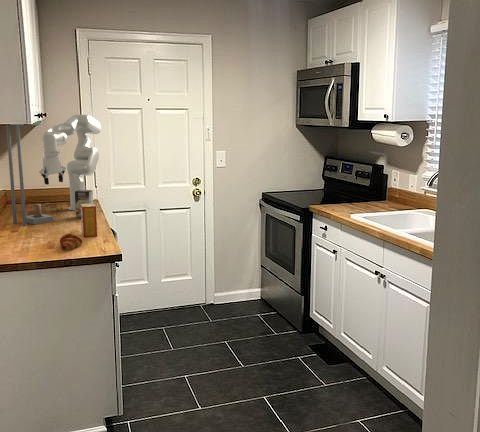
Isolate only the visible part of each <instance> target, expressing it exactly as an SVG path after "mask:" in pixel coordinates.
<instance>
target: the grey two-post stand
mask: <svg viewBox="0 0 480 432" xmlns="http://www.w3.org/2000/svg"><path fill="white" fill-rule="evenodd" d="M36 121H37V122H36V123H34V124H31V125H30V126H36V125H37V126H39V125H41V120H36ZM5 126H6V127H5V129H6V139H7V153H8V155H7V157H8V165H9V168H8V169H9V179H10V181H9V183H10V195H11V196H10V197H11V208H12V220H13V224H14V223H17V224H18V220H17V219H18V217H17V206H16V205H17V204H16V193H15V190H16V189H15V179H14V178H15V177H14V166H13V165H14V164H13V151H12V150H13V149H12V139H11V138H12V137H11V126H15V134H16V145H17V146H16V147H17V159H18V162H17V164H18V176H19V177H18V178H19V188H20V189H19V191H20V205H21V218H22V219H21V220H22V226H23V227H26V226H27V223H26V216H27V214H26V201H25V199H26V198H25V184H24V172H23V170H24V169H23V157H22V145H21V144H22V143H21V131H20V126H25V125H24V124H10V125H5Z"/></svg>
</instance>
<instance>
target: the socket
mask: <svg viewBox="0 0 480 432" xmlns="http://www.w3.org/2000/svg"><path fill="white" fill-rule="evenodd" d="M41 215H42V217H38V218H35V217H34V214H32V215H26V224H30V225H39V224H45V223H46V224H47V223H51V222H54V216H53V215H49V214H46V213H45V214H44V213H41Z"/></svg>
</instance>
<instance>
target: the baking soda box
mask: <svg viewBox="0 0 480 432" xmlns="http://www.w3.org/2000/svg"><path fill="white" fill-rule="evenodd" d="M80 207H81V218H80V221H81V224H80V225H81V235H82V237H83V238H86V239H87V238H97V237H98V227H97V226H98V223H97V206H96V204H95V203H94V202H93V203H90V204H80Z"/></svg>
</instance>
